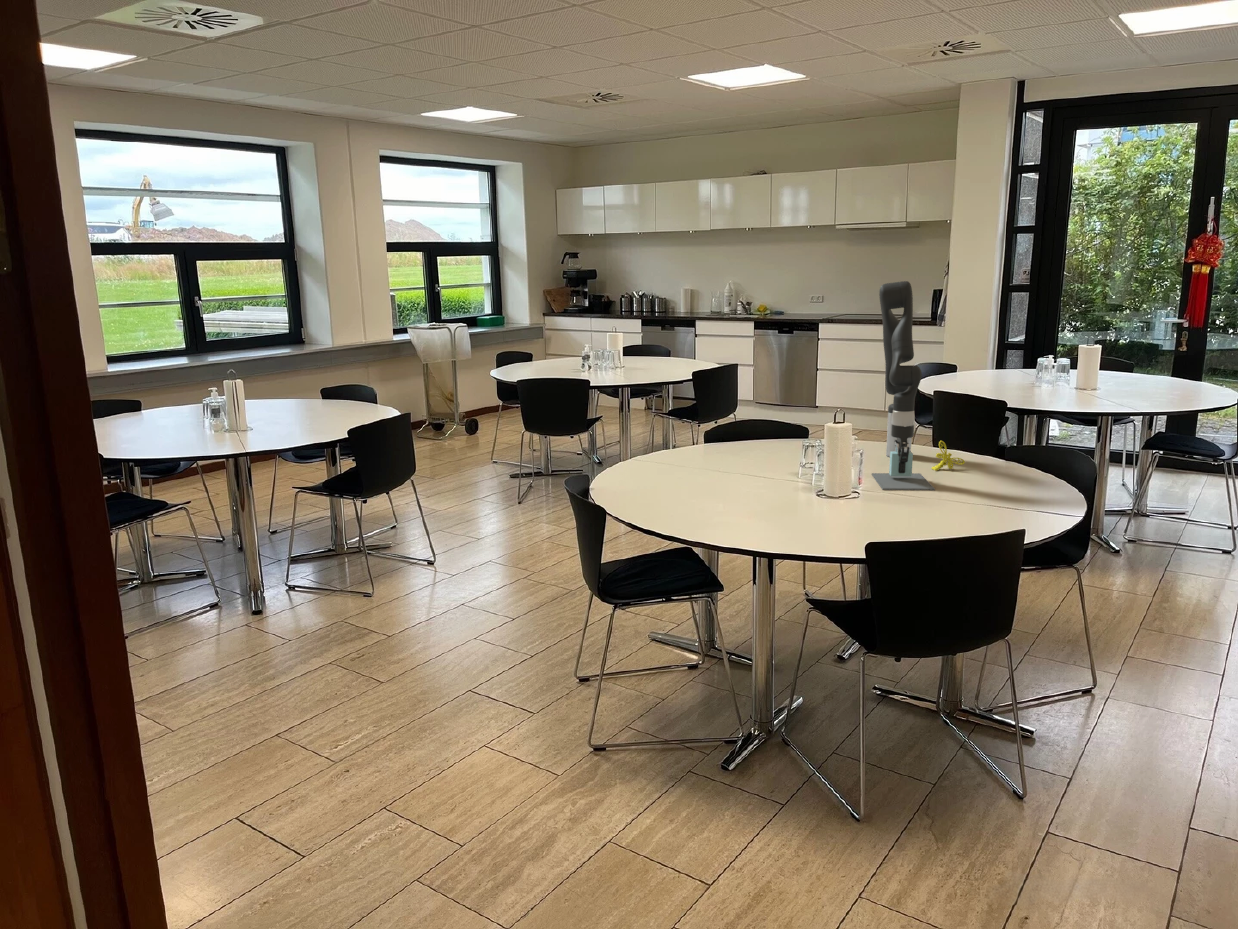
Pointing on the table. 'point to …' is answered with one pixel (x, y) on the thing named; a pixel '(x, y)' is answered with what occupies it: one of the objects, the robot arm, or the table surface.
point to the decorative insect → (944, 456)
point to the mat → (902, 482)
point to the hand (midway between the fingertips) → (900, 471)
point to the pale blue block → (895, 465)
